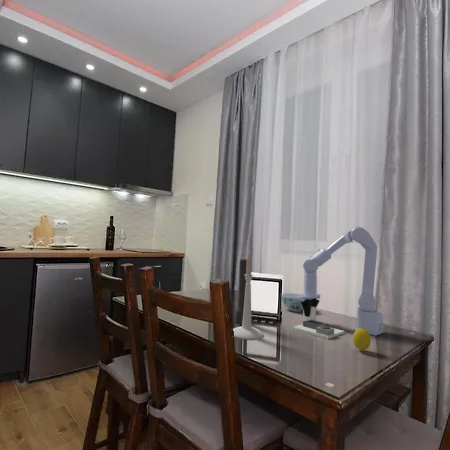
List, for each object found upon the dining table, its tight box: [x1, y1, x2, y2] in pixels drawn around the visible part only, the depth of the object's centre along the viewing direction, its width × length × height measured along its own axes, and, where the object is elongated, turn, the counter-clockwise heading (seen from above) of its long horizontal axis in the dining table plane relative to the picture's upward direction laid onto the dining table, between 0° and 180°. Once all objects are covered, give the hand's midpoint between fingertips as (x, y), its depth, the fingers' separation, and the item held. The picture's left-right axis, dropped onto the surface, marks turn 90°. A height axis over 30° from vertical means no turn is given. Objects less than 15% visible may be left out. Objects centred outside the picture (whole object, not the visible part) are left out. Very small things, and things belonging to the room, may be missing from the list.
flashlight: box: [234, 258, 247, 326], centre depth 136 cm, size 7×28×7 cm
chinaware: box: [281, 292, 303, 312], centre depth 168 cm, size 15×15×8 cm
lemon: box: [352, 327, 372, 352], centre depth 106 cm, size 6×6×8 cm
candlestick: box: [232, 257, 264, 341], centre depth 120 cm, size 13×13×30 cm
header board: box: [292, 320, 345, 340], centre depth 128 cm, size 16×13×3 cm
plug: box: [302, 306, 317, 322], centre depth 142 cm, size 5×3×7 cm, turn 42°
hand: (309, 315), depth 141 cm, fingers closed on plug, 3 cm apart
